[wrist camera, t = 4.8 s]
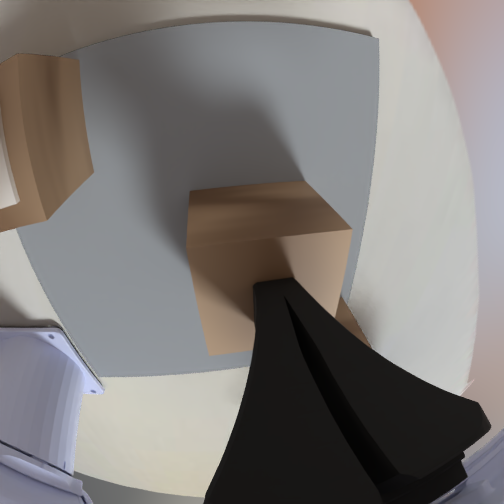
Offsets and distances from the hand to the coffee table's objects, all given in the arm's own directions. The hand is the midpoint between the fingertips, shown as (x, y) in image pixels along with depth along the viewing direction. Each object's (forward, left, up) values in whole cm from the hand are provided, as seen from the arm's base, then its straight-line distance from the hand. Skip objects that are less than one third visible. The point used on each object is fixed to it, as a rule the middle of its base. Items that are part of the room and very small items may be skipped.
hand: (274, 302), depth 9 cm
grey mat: (-3, -1, -5) cm, 6 cm away
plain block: (0, 0, -4) cm, 4 cm away
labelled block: (-9, +6, -4) cm, 12 cm away
